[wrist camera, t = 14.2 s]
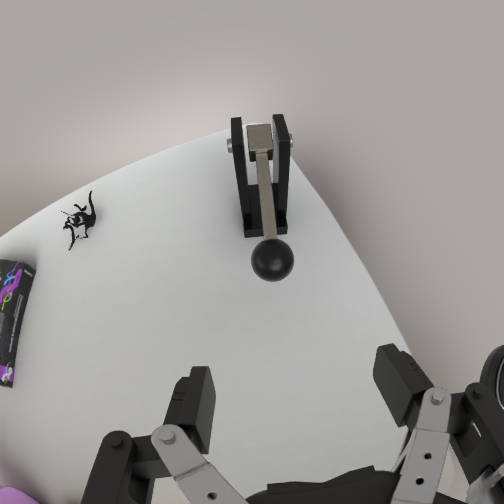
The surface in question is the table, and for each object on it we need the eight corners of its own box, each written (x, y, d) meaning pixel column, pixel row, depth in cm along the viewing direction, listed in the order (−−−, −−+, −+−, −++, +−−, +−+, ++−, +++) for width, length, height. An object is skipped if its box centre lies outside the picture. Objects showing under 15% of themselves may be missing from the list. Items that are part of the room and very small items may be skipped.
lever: (293, 279, 24) (299, 279, 21) (253, 283, 24) (252, 283, 21) (276, 138, 26) (278, 119, 22) (240, 141, 26) (238, 122, 22)
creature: (64, 256, 34) (95, 248, 32) (40, 238, 29) (68, 228, 27) (79, 213, 38) (110, 202, 36) (58, 195, 33) (88, 180, 31)
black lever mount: (291, 233, 32) (299, 149, 21) (240, 238, 32) (225, 155, 21) (283, 189, 35) (285, 107, 24) (238, 193, 35) (225, 111, 24)
